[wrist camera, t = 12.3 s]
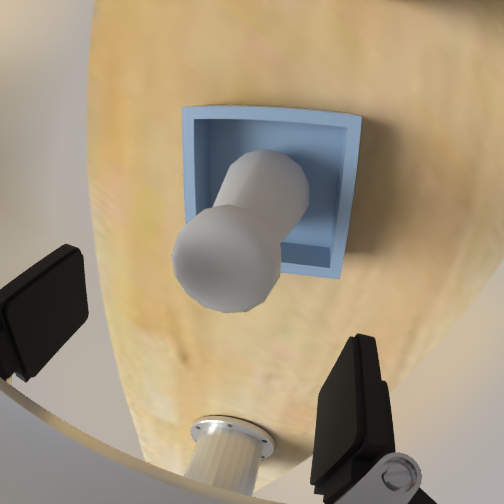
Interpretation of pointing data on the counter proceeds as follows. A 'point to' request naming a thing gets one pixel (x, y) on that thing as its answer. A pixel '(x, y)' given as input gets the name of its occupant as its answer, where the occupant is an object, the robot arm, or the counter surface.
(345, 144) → the slate-blue bin
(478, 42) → the counter surface
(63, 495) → the robot arm
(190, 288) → the salt shaker
